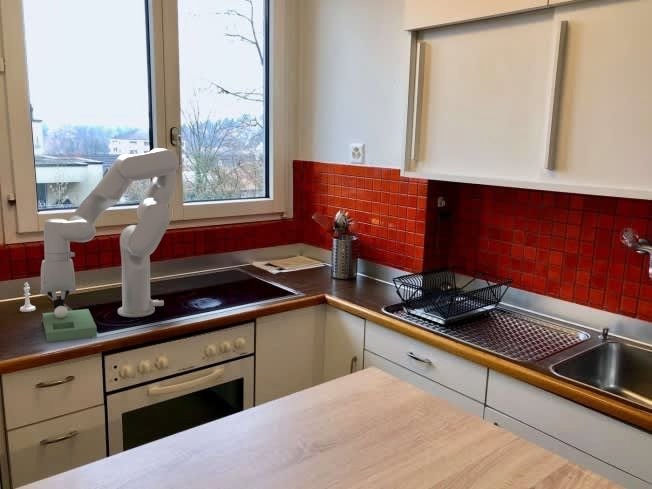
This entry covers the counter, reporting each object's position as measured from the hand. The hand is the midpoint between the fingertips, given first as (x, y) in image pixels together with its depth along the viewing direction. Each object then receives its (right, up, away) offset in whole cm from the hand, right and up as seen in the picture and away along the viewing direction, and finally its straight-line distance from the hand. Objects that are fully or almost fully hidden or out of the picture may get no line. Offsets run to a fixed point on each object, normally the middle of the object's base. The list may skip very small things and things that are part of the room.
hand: (58, 310), depth 184 cm
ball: (+3, 0, -5) cm, 6 cm away
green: (+6, -5, -6) cm, 10 cm away
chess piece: (-16, -1, +11) cm, 20 cm away
